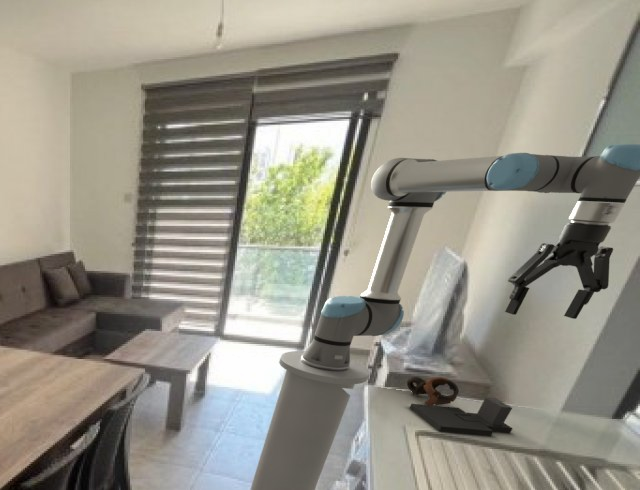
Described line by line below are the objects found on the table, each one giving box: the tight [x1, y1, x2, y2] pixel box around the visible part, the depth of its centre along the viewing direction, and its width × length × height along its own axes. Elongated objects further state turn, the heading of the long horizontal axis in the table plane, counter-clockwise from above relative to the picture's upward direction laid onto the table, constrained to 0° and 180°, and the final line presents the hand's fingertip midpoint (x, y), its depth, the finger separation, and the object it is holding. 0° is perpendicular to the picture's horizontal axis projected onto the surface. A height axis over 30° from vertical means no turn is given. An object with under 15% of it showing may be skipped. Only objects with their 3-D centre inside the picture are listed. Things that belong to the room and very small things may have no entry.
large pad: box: [409, 403, 495, 437], centre depth 125 cm, size 14×12×2 cm
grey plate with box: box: [457, 397, 513, 434], centre depth 123 cm, size 8×10×6 cm
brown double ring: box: [406, 376, 459, 406], centre depth 136 cm, size 12×10×8 cm
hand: (539, 315), depth 120 cm, fingers open, 13 cm apart
